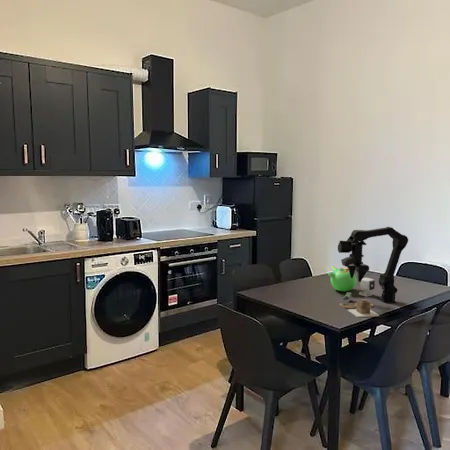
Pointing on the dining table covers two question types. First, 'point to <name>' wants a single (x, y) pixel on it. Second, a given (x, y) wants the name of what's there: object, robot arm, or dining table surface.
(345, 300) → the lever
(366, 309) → the cap block
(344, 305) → the plane block
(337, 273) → the toy bird
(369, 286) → the security camera
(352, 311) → the trivet
